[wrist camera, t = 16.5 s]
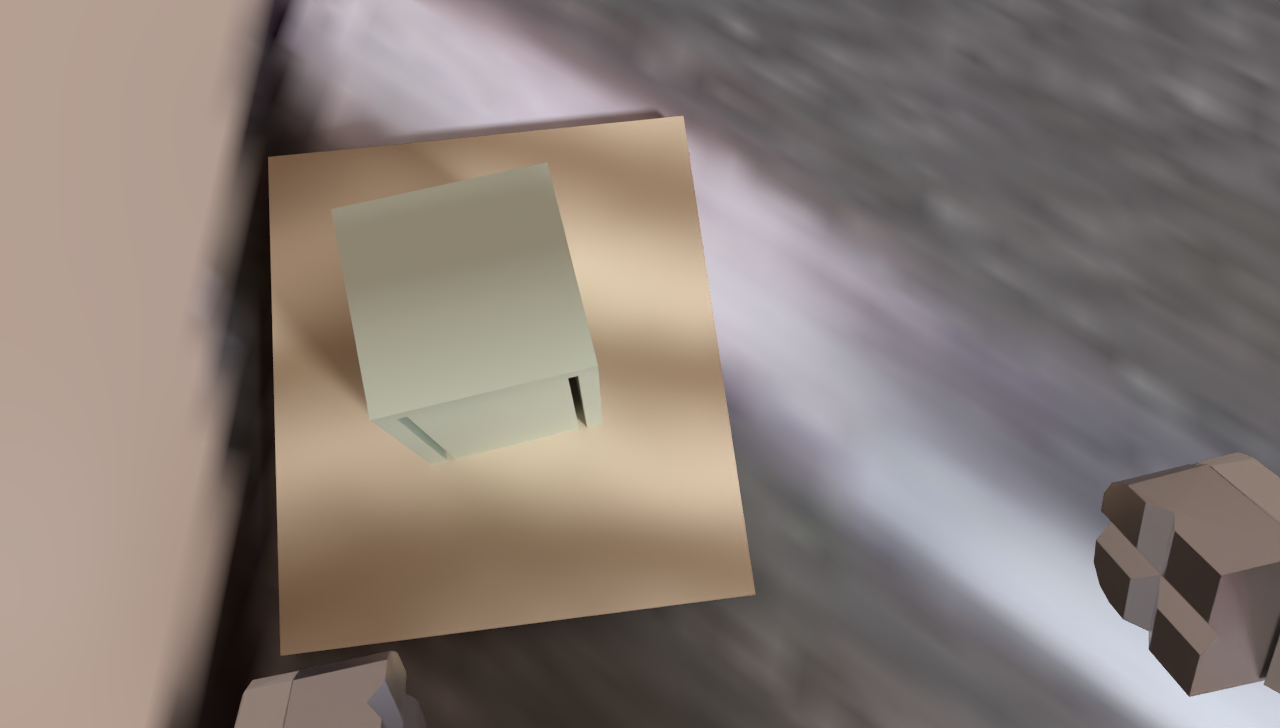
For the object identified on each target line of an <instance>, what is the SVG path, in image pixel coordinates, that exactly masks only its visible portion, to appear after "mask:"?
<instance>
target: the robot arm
mask: <svg viewBox="0 0 1280 728" xmlns="http://www.w3.org/2000/svg"><path fill="white" fill-rule="evenodd" d="M1101 511H1102V512H1103V513H1104V514H1105V516H1106V517H1107V518H1108V519H1109V520H1110V521H1111V523H1110V524H1109V525H1108V526H1107V528H1106V529H1105V530H1104V531H1103V532H1102V534H1101V535H1100V536H1099V537H1098V538H1097V540H1096V546H1095V556H1094V565H1095V568H1096V572H1097V576H1098V580H1099V584H1100V586H1101V588H1102V590H1103V592H1104V594H1105V595H1106V597H1107V599H1108V601H1109V603H1110V604H1111V605H1112V606H1113V607H1114V609H1115V610H1116V611H1117V612H1118V614H1119V615H1120V616H1121V617H1122V618H1123V619H1124V620H1126V621H1128V622H1130V623H1132V624H1135V625H1137V626H1139V627H1141V628H1143V629H1145V630H1147V631H1149V650H1150V652H1151V653H1152V654H1153V655H1154V656H1155V657H1156V659H1157V660H1158V661H1159V662H1160V663H1161V664H1162V666H1163V667H1164V668H1165V669H1166V670H1167V671H1168V673H1169V674H1170V675H1171V676H1172V677H1173V678H1174V680H1175V681H1176V682H1177V683H1178V684H1179V685H1180V687H1181V688H1182V689H1183V690H1184V691H1185V692H1186V694H1187V695H1188V696H1189V697H1191V696H1195V695H1200V694H1204V693H1209V692H1213V691H1218V690H1222V689H1227V688H1231V687H1236V686H1241V685H1245V684H1250V683H1254V682H1259V681H1263V680H1265V682H1264V685H1266V686H1267V687H1269V688H1271V689H1273V690H1274V691H1276V692H1278V693H1280V478H1279V477H1278V476H1276V475H1275V474H1274V473H1272V472H1271V471H1270V470H1269V469H1267V468H1266V467H1265V466H1263V465H1262V464H1261V463H1260V462H1258V461H1257V460H1256V459H1254V458H1253V457H1250V456H1248V455H1245V454H1241V453H1234V454H1230V455H1225V456H1221V457H1217V458H1213V459H1209V460H1205V461H1201V462H1197V463H1195V464H1188V465H1184V466H1180V467H1176V468H1172V469H1168V470H1163V471H1159V472H1155V473H1151V474H1147V475H1143V476H1139V477H1135V478H1130V479H1126V480H1122V481H1118V482H1114V483H1111V485H1110V486H1109V487H1108V489H1107V490H1106V491H1105V493H1104V496H1103V502H1102V507H1101ZM406 675H407V672H406V670H405V668H404V666H403V664H402V661H401V659H400V657H399V655H398V653H397V652H394V651H387V652H382V653H377V654H372V655H367V656H363V657H358V658H353V659H348V660H343V661H338V662H333V663H329V664H324V665H319V666H314V667H309V668H304V669H300V670H299V671H295V672H290V673H285V674H280V675H275V676H270V677H265V678H260V679H255V680H252V682H251V683H250V684H249V686H248V687H247V689H246V690H245V692H244V693H243V696H242V699H241V703H240V707H239V711H238V715H237V719H236V723H235V727H234V728H427V726H426V722H425V718H424V714H423V712H422V709H421V707H420V704H419V702H418V700H417V699H415V698H413V697H411V696H409V695H408V694H406Z"/></svg>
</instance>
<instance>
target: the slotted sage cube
mask: <svg viewBox="0 0 1280 728" xmlns="http://www.w3.org/2000/svg"><path fill="white" fill-rule="evenodd" d="M331 212H332V217H333V223H334V228H335V234H336V239H337V244H338V250H339V255H340V261H341V266H342V272H343V277H344V283H345V288H346V294H347V299H348V304H349V310H350V315H351V321H352V326H353V332H354V337H355V343H356V348H357V353H358V359H359V364H360V370H361V375H362V381H363V386H364V392H365V397H366V402H367V408H368V413H369V419H370V421H371V422H373V423H374V424H376V425H377V426H378V427H380V428H381V429H382V430H384V431H385V432H387V433H388V434H389V435H391V436H392V437H394V438H395V439H396V440H398V441H399V442H400V443H402V444H403V445H405V446H406V447H407V448H409V449H410V450H411V451H413V452H414V453H416V454H417V455H418V456H420V457H421V458H423V459H424V460H425V461H427V462H428V463H429V464H431V465H434V464H438V463H442V462H446V461H448V460H447V455H446V451H447V452H448V453H449V454H450V455H451V456H453V457H454V458H455V459H458V458H462V457H466V456H471V455H475V454H479V453H483V452H487V451H491V450H495V449H499V448H503V447H507V446H511V445H516V444H520V443H524V442H528V441H532V440H536V439H540V438H544V437H548V436H552V435H557V434H561V433H565V432H569V431H573V430H577V429H579V426H578V421H577V416H576V412H575V407H574V403H573V398H572V394H571V389H570V385H569V380H568V378H571V377H575V379H576V383H577V388H578V392H579V396H580V400H581V404H582V408H583V412H584V416H585V421H586V425H587V427H589V426H593V425H597V424H602V423H603V421H602V408H601V396H600V383H599V371H598V363H597V359H596V355H595V351H594V347H593V343H592V339H591V335H590V331H589V327H588V323H587V319H586V315H585V311H584V307H583V303H582V299H581V295H580V291H579V287H578V283H577V279H576V275H575V271H574V267H573V263H572V259H571V255H570V251H569V247H568V243H567V239H566V235H565V231H564V227H563V223H562V219H561V215H560V211H559V207H558V203H557V199H556V195H555V191H554V187H553V183H552V179H551V175H550V171H549V167H548V163H547V162H545V163H541V164H536V165H532V166H527V167H523V168H518V169H513V170H509V171H504V172H500V173H495V174H490V175H486V176H481V177H477V178H472V179H467V180H463V181H458V182H454V183H449V184H445V185H440V186H435V187H431V188H426V189H422V190H417V191H412V192H408V193H403V194H399V195H394V196H389V197H385V198H380V199H376V200H371V201H367V202H362V203H357V204H353V205H348V206H344V207H339V208H334V209H331Z"/></svg>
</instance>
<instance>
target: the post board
mask: <svg viewBox="0 0 1280 728" xmlns="http://www.w3.org/2000/svg"><path fill="white" fill-rule="evenodd" d="M545 162H547V163H548V167H549V171H550V175H551V179H552V183H553V187H554V191H555V195H556V199H557V203H558V207H559V211H560V215H561V219H562V223H563V227H564V231H565V235H566V239H567V243H568V247H569V251H570V255H571V259H572V263H573V267H574V271H575V275H576V279H577V283H578V287H579V291H580V295H581V299H582V303H583V307H584V311H585V315H586V319H587V323H588V327H589V331H590V335H591V339H592V343H593V347H594V351H595V355H596V359H597V363H598V371H599V383H600V396H601V408H602V421H603V423H602V424H597V425H593V426H589V427H587V425H586V421H585V416H584V412H583V408H582V404H581V400H580V396H579V392H578V388H577V383H576V379H575V377H571V378H568V380H569V385H570V389H571V394H572V398H573V403H574V407H575V412H576V416H577V421H578V426H579V429H577V430H573V431H569V432H565V433H561V434H557V435H552V436H548V437H544V438H540V439H536V440H532V441H528V442H524V443H520V444H516V445H511V446H507V447H503V448H499V449H495V450H491V451H487V452H483V453H479V454H475V455H471V456H466V457H462V458H458V459H455V458H454V457H453V456H451V455H450V454H449V453H448V452H447V451H446V455H447V460H448V461H446V462H442V463H438V464H434V465H431V464H429V463H428V462H427V461H425V460H424V459H423V458H421V457H420V456H418V455H417V454H416V453H414V452H413V451H411V450H410V449H409V448H407V447H406V446H405V445H403V444H402V443H400V442H399V441H398V440H396V439H395V438H394V437H392V436H391V435H389V434H388V433H387V432H385V431H384V430H382V429H381V428H380V427H378V426H377V425H376V424H374V423H373V422H371V421H370V419H369V413H368V408H367V402H366V397H365V392H364V386H363V381H362V375H361V370H360V364H359V359H358V353H357V348H356V343H355V337H354V332H353V326H352V321H351V315H350V310H349V304H348V299H347V294H346V288H345V283H344V277H343V272H342V266H341V261H340V255H339V250H338V244H337V239H336V234H335V228H334V223H333V217H332V212H331V209H334V208H339V207H344V206H348V205H353V204H357V203H362V202H367V201H371V200H376V199H380V198H385V197H389V196H394V195H399V194H403V193H408V192H412V191H417V190H422V189H426V188H431V187H435V186H440V185H445V184H449V183H454V182H458V181H463V180H467V179H472V178H477V177H481V176H486V175H490V174H495V173H500V172H504V171H509V170H513V169H518V168H523V167H527V166H532V165H536V164H541V163H545ZM268 171H269V211H270V252H271V292H272V332H273V372H274V413H275V453H276V493H277V533H278V574H279V614H280V654H281V656H283V655H291V654H299V653H307V652H314V651H322V650H330V649H338V648H345V647H353V646H361V645H369V644H376V643H384V642H392V641H400V640H407V639H415V638H423V637H431V636H438V635H446V634H454V633H462V632H469V631H477V630H485V629H493V628H500V627H508V626H516V625H524V624H531V623H539V622H547V621H555V620H562V619H570V618H578V617H586V616H593V615H601V614H609V613H617V612H624V611H632V610H640V609H648V608H656V607H663V606H671V605H679V604H687V603H694V602H702V601H710V600H718V599H725V598H733V597H741V596H749V595H755V588H754V582H753V575H752V568H751V562H750V555H749V549H748V542H747V535H746V529H745V522H744V515H743V509H742V502H741V496H740V489H739V482H738V476H737V469H736V462H735V456H734V449H733V443H732V436H731V429H730V423H729V416H728V409H727V403H726V396H725V390H724V383H723V376H722V370H721V363H720V356H719V350H718V343H717V336H716V330H715V323H714V317H713V310H712V303H711V297H710V290H709V283H708V277H707V270H706V264H705V257H704V250H703V244H702V237H701V230H700V224H699V217H698V211H697V204H696V197H695V191H694V184H693V177H692V171H691V164H690V158H689V151H688V144H687V138H686V131H685V124H684V118H683V116H677V117H667V118H657V119H647V120H636V121H626V122H616V123H606V124H596V125H586V126H576V127H566V128H556V129H546V130H536V131H526V132H515V133H505V134H495V135H485V136H475V137H465V138H455V139H445V140H435V141H425V142H415V143H405V144H394V145H384V146H374V147H364V148H354V149H344V150H334V151H324V152H314V153H304V154H294V155H284V156H274V157H268Z"/></svg>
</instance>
